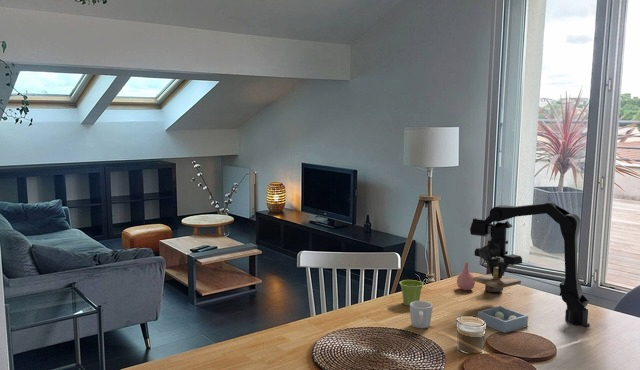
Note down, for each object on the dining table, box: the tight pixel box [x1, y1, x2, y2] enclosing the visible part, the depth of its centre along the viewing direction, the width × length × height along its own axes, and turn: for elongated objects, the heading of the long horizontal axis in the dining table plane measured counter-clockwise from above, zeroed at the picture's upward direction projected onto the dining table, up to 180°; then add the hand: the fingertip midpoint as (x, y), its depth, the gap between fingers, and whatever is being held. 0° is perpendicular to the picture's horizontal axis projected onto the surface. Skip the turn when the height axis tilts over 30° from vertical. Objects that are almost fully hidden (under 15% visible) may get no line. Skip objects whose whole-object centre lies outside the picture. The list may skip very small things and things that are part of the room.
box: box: [477, 305, 529, 333], centre depth 188 cm, size 12×12×4 cm
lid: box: [473, 267, 522, 289], centre depth 206 cm, size 13×13×6 cm
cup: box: [409, 300, 433, 329], centre depth 187 cm, size 11×8×8 cm
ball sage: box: [495, 312, 504, 320], centre depth 192 cm, size 3×3×3 cm
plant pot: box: [399, 279, 424, 307], centre depth 212 cm, size 9×9×9 cm
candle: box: [484, 256, 505, 293], centre depth 228 cm, size 8×7×20 cm
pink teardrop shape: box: [456, 262, 476, 291], centre depth 230 cm, size 8×8×12 cm
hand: (496, 277), depth 206 cm, fingers closed on lid, 3 cm apart
